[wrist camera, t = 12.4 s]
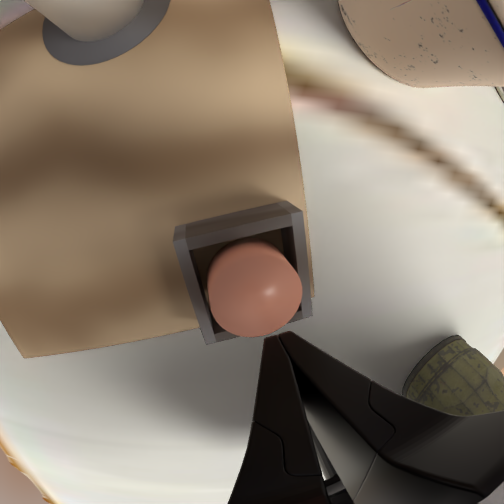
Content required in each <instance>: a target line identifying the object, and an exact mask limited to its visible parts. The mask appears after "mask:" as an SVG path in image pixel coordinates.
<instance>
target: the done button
mask: <svg viewBox="0 0 504 504" xmlns="http://www.w3.org/2000/svg"><path fill="white" fill-rule="evenodd" d="M206 279H207V288H208V294H209V301H210V307H211V312H212V314H213V317H214V318H215V320H216V322H217V323H218V324H219V325H220V326H221V327H222V328H223V329H225V330H226V331H228V332H230V333H232V334H235V335H238V336H242V337H258V336H263V335H267V334H270V333H272V332H274V331H276V330H278V329H280V328H281V327H283V326H284V325H285V324H286V323H287V322H289V321H290V319H291V318H292V317H293V316H294V314H295V313H296V311H297V310H298V308H299V305H300V303H301V299H302V284H301V280H300V278H299V276H298V274H297V272H296V271H295V270H294V268H293V267H292V266H291V265H290V263H289V262H288V261H287V259H286V258H285V257H284V256H283V254H282V253H281V252H280V251H279V249H278V248H277V247H276V246H274V245H273V244H272V243H270V242H268V241H266V240H263V239H259V238H241V239H237V240H234V241H232V242H230V243H228V244H226V245H225V246H223V247H222V248H221V249H220V250H219V251H218V252H217V253H216V254H215V255H214V256H213V258H212V260H211V261H210V263H209V266H208V269H207V276H206Z"/></svg>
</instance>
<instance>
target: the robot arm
mask: <svg viewBox="0 0 504 504" xmlns="http://www.w3.org/2000/svg"><path fill="white" fill-rule="evenodd" d="M252 421H253V422H252V424H251V430H250V436H249V441H248V445H247V450H246V453H245V456H244V460H243V463H242V466H241V469H240V472H239V474H238V477H237V480H236V483H235V485H234V488H233V491H232V494H231V496H230V499H229V501H228V504H504V410H503V411H498V412H492V413H486V414H480V415H473V416H457V415H452V414H448V413H445V412H442V411H439V410H437V409H434V408H431V407H429V406H426V405H423V404H421V403H418V402H416V401H413V400H411V399H408V398H406V397H404V396H401V395H399V394H397V393H395V392H393V391H391V390H389V389H387V388H385V387H383V386H382V385H380V384H378V383H376V382H375V381H371V379H369V378H367V377H366V376H364V375H362V374H361V373H359V372H357V371H355V370H354V369H352V368H350V367H349V366H347V365H345V364H344V363H342V362H340V361H339V360H337V359H335V358H334V357H332V356H330V355H329V354H327V353H325V352H324V351H322V350H320V349H319V348H317V347H316V346H314V345H312V344H311V343H309V342H308V341H306V340H304V339H303V338H301V337H300V336H298V335H296V334H295V333H293V332H291V331H287V332H284V333H281V334H279V335H278V336H277V335H274V336H270V337H266V338H265V339H264V344H263V351H262V358H261V365H260V372H259V379H258V386H257V392H256V399H255V406H254V412H253V419H252ZM320 467H321V468H320ZM321 469H322V471H323V474H324V476H325V478H326V480H325V481H324V479H323V477H322V471H321Z"/></svg>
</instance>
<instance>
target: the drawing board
mask: <svg viewBox="0 0 504 504" xmlns="http://www.w3.org/2000/svg"><path fill="white" fill-rule="evenodd" d="M241 238H259V239H263V240H266V241H268V242H270V243H272V244H273V245H274V246H276V247H277V248H278V249H279V251H280V252H281V253H282V254H283V256H284V257H285V258H286V259H287V261H288V262H289V263H290V265H291V266H292V267H293V268H294V270H295V271H296V272H297V274H298V276H299V278H300V280H301V284H302V299H301V303H300V305H299V308H298V310H297V311H296V313H295V314H294V316H293V317H292V318H291V319H290V321H289V322H287V323H290V322H294V321H297V320H300V319H304V318H307V317H310V316H312V302H311V298H312V297H314V284H313V272H312V260H311V249H310V239H309V229H308V220H307V211H306V202H305V194H304V186H303V178H302V171H301V163H300V156H299V150H298V143H297V136H296V130H295V124H294V118H293V112H292V106H291V100H290V95H289V89H288V84H287V79H286V73H285V68H284V63H283V58H282V54H281V49H280V44H279V40H278V35H277V31H276V26H275V22H274V18H273V13H272V9H271V5H270V1H269V0H144V2H143V5H142V7H141V9H140V11H139V13H138V14H137V16H136V17H135V18H134V19H133V20H132V21H131V22H130V23H129V24H128V25H127V26H126V27H124V28H123V29H122V30H120V31H119V32H117V33H115V34H113V35H111V36H109V37H107V38H104V39H101V40H98V41H91V42H83V41H78V40H75V39H73V38H71V37H70V36H69V35H68V34H66V33H65V32H64V31H63V30H61V29H60V28H59V27H58V26H56V25H55V24H54V23H53V22H51V21H50V20H49V19H47V18H46V17H45V16H44V15H42V14H41V13H40V12H38V11H37V10H36V9H34V10H32V11H30V12H28V13H27V14H25V15H23V16H22V17H20V18H18V19H17V20H15V21H13V22H12V23H10V24H9V25H7V26H6V27H4V28H3V29H1V30H0V320H1V322H2V324H3V326H4V327H5V329H6V331H7V332H8V334H9V336H10V337H11V339H12V341H13V342H14V344H15V345H16V347H17V349H18V350H19V352H20V353H21V355H22V356H23V358H32V357H40V356H48V355H55V354H62V353H69V352H76V351H82V350H89V349H95V348H101V347H106V346H112V345H118V344H123V343H128V342H134V341H139V340H144V339H149V338H154V337H159V336H163V335H168V334H173V333H177V332H182V331H186V330H191V329H195V328H199V327H200V329H201V332H202V334H203V337H204V340H205V343H206V345H207V344H211V343H215V342H219V341H224V340H228V339H232V338H236V337H240V336H238V335H235V334H232V333H230V332H228V331H226V330H225V329H223V328H222V327H221V326H220V325H219V324H218V323H217V322H216V320H215V318H214V317H213V314H212V312H211V307H210V301H209V294H208V288H207V279H206V276H207V269H208V266H209V263H210V261H211V260H212V258H213V256H214V255H215V254H216V253H217V252H218V251H219V250H220V249H221V248H222V247H223V246H225V245H226V244H228V243H230V242H232V241H234V240H237V239H241ZM287 323H286V324H287Z"/></svg>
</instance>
